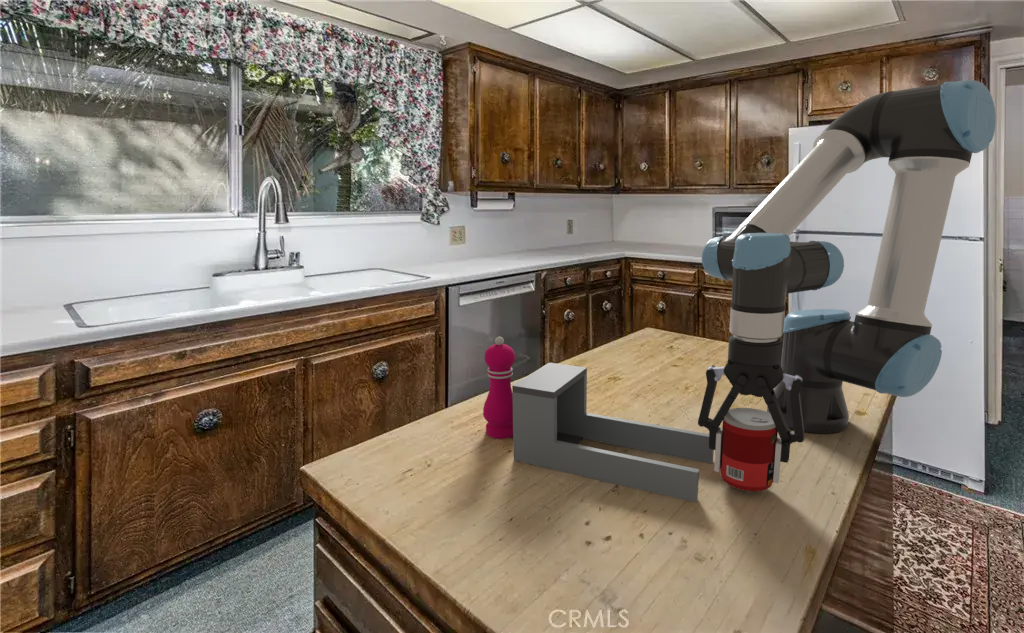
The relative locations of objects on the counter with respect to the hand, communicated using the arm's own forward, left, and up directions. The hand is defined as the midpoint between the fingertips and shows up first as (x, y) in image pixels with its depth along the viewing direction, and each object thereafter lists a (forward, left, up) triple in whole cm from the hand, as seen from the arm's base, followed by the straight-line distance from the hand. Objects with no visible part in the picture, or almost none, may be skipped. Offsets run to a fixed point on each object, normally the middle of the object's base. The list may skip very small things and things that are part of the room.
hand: (746, 473), depth 91 cm
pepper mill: (+46, -2, -3) cm, 46 cm away
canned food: (0, 0, -2) cm, 2 cm away
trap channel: (+21, 0, -3) cm, 21 cm away
